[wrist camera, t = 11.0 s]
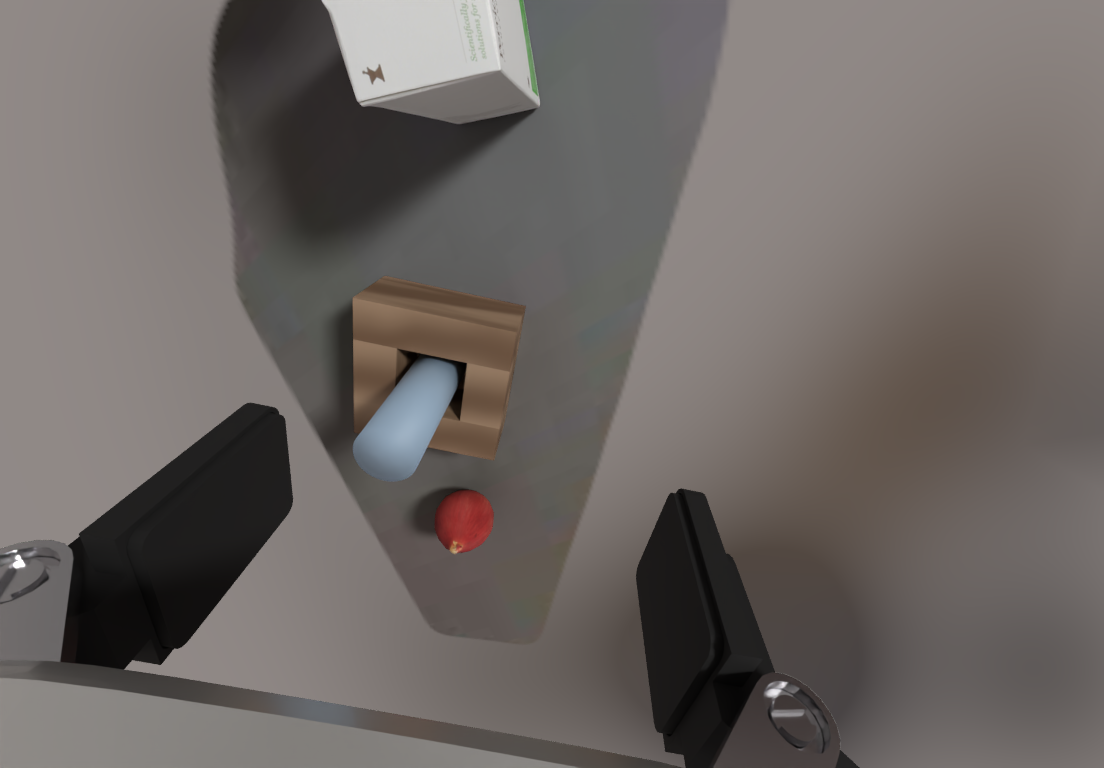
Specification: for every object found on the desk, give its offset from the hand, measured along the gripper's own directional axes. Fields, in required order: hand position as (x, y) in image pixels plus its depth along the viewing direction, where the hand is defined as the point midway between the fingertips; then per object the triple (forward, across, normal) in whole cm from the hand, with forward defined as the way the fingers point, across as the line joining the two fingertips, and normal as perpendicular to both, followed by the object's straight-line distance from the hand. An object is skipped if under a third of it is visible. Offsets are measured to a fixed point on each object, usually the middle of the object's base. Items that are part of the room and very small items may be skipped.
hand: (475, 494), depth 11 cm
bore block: (+28, +7, +11) cm, 31 cm away
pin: (+27, +7, +11) cm, 30 cm away
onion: (+28, +3, +27) cm, 39 cm away
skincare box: (+28, +7, -12) cm, 32 cm away
